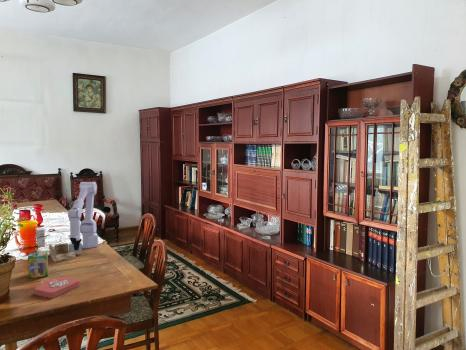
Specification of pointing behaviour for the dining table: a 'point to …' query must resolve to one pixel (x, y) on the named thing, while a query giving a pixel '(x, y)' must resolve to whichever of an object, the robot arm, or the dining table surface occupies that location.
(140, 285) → the dining table surface
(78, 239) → the robot arm
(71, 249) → the slate boxed book
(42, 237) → the ink box
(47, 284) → the pink flat block
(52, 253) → the birch shelf bay
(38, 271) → the chalk box
